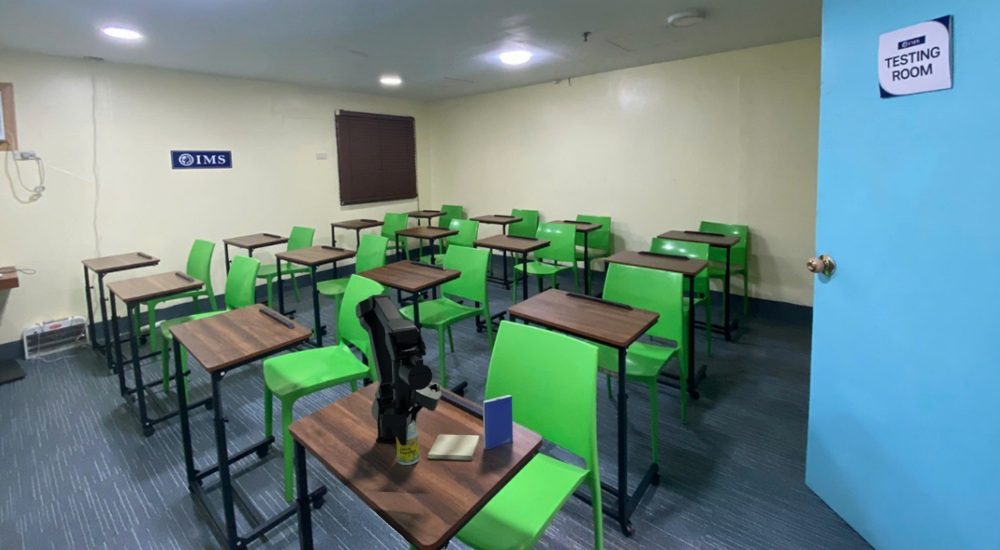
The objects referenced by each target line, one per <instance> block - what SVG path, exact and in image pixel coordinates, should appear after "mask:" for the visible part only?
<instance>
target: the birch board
mask: <svg viewBox="0 0 1000 550" xmlns="http://www.w3.org/2000/svg"><path fill="white" fill-rule="evenodd" d="M479 441H480V435H473V434H472V435H470V434H468V435H467V434H441V433H440V434H438V435H437V437H436V439H435V441H434V443H433V445H432V446H431V448H430V450H429V452H428V454H427V458H428V459H433V460H434V459H435V460H436V459H441V460H466V461H473V458H474V455H475V453H476V450H477V447H478V445H479Z"/></svg>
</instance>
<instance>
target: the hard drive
mask: <svg viewBox="0 0 1000 550" xmlns="http://www.w3.org/2000/svg"><path fill="white" fill-rule="evenodd" d="M482 416H483V417H482V419H483V420H482V421H483V448H484V450H490V449H493V448H496V447H500V446H503V445H507V444H510V443H513V442H514V436H513V435H514V433H513V432H514V425H513V418H514V417H513V395H510V394H507V395H502V396H498V397H494V398H489V399H486V400H483V401H482Z"/></svg>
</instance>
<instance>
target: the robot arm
mask: <svg viewBox="0 0 1000 550" xmlns="http://www.w3.org/2000/svg"><path fill="white" fill-rule="evenodd" d="M355 316H356V318H357V319H358V321H359V326H361V328H362V329H363V330H364V331H366V332H367V334H368V339H369V344H370V348H371V353H372V357H373V362H374V366H375V367H374V368H375V371H376V377H377V382H378V384H377V387H376V390H375V392H374V401H373V402H372V404H371V405H372V406H371V415H372V417H373V419H375V420H376V423H377V424H376V425H377V437H376V439H375V442H376V443H387V444H388V443H390V444H391V443H392V444H394V443H395V444H397V443H396V437H397V439H398V440H399V442H400V444H401V445H402V446H405V445H406V442H407V434H408V426H409V425H410V424H411V423H412V421H413V420H414V421H415V426H416V423H417V419H418V416H419V413H420V411H421V410H422V409H423V408H424V409H427V410H428V411H430V412H434V411H436V409H437V408H438V406H439V403H440V401H441V397H443V395H442V394H443V393H442V392H443V391H441V388H440V384H439V383H436V382H432V380H433V372H432V369H431V368H430V367H429V366H428V365H427V364H425V363H424V359H423V358H422V357H424V356H427V351H426V349H427V346H426V344H425V342H424V338H423V336H422V334H421V332H420V330H419V329H418V328H417V326H416V325H415V324H414V323H413V322H412V321H410V320H408V319H404V318H403V317H402V316H401V314H400V312H399V311H398V310H397V307H395V305H394V304H393V302H392V300H391V296H390V295H389V294H387V293H380V294H372V295H370V296H368V297H367V298H366V299H363V300H360V301H359V302H358V303H357V304H356V305H355ZM431 383H432V384H431Z"/></svg>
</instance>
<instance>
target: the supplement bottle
mask: <svg viewBox="0 0 1000 550" xmlns="http://www.w3.org/2000/svg"><path fill="white" fill-rule="evenodd" d="M419 435H420V434H419V431H418V429H417V428H416V425H415V421H414V420H413V421H412V423H411V424H410V425H409V426H408V434H407V442H406V445H405V446H402V445H401V444H400V442H399V440H398V439H397V437H396V443H395V444H396V457H397V463H398V464H399V465H403V466H410V465H414V464H416V463H418V462H419V460H420V439H419Z"/></svg>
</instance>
